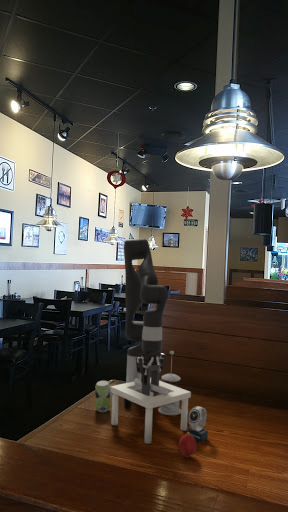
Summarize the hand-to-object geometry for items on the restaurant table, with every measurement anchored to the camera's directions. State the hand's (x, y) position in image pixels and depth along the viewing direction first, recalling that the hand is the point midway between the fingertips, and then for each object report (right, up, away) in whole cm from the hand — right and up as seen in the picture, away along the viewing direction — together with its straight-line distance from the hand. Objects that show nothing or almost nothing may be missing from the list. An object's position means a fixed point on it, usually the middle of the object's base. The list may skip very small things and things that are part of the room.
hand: (150, 382), depth 151 cm
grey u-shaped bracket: (0, -4, 0) cm, 4 cm away
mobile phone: (-10, -17, +25) cm, 32 cm away
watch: (+17, -17, -9) cm, 26 cm away
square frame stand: (-1, -16, 0) cm, 16 cm away
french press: (+8, -17, +18) cm, 26 cm away
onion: (+11, -17, -23) cm, 31 cm away
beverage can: (-19, -16, +14) cm, 29 cm away
